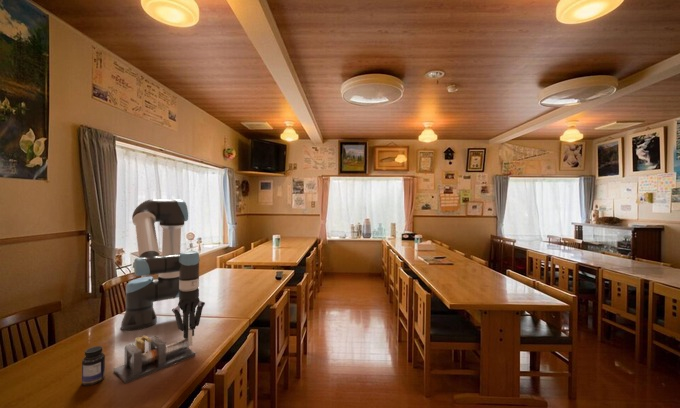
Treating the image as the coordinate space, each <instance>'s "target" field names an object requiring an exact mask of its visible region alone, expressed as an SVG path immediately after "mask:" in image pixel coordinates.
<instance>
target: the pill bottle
mask: <svg viewBox="0 0 680 408" xmlns="http://www.w3.org/2000/svg"><path fill="white" fill-rule="evenodd" d="M105 368H106V355H105V353H104V352H103V346H100V345H99V346H98V345H95V346H91V347H88V348H87V349H85V350H84V358H82V360H81V382H82V383H81V385H82V386H92V385H95V384H98V383H100V382H101V381H103V380H104V378H105V377H106V376H105V374H106V372H105V370H106V369H105Z"/></svg>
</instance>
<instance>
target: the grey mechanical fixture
mask: <svg viewBox="0 0 680 408" xmlns="http://www.w3.org/2000/svg"><path fill="white" fill-rule="evenodd" d="M149 338H150V339H151V342H148V351H150V350H153V349H156V361H154V362H150V363H147V364H145V365H142V351H141V350H140V349H139V348H137V347H136V346H135V343H134V344H133V343H130V344H125V345H124V363H123V364H122V365H120V366H117V367H115V368H113V371H114V373H115V374H116V375H117V377H119V378H120V380H121V381H123V383H124V384H125V385H126V384H128V383H131V382H134V381H136V380H139V379H140V378H143V377H146V376H148V375H151V374H153V373H155V372H158V371H160V370H163V369H165V368H168V367H170V366H174V365H176V364H178V363H180V362H182V361H186V360H188V359H190V358H193V357H195V356H196V352H195V351H194V350H192V349H190V347H189V348H187V349H185V350H182V351H179V352H177V353H174V354H171V355H169V356H166V345H167V342H165V341H164V340H162V339H161V338H159V337H157V336H156V335H155V336H152V337H149ZM131 357H132V369H131V368H130V365H129V359H130V358H131ZM175 363H176V364H175Z"/></svg>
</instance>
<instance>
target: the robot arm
mask: <svg viewBox="0 0 680 408" xmlns="http://www.w3.org/2000/svg"><path fill="white" fill-rule="evenodd" d="M131 216H132V218H131V219H132V224H133V225H134V226H135V231H136V240H137V241H136V242H137V251H138V257H135V259H134V260H133V273H134V275H135V276H137V277H138V278H134V279H132V280H130V281H128V283H126V286H125V311H124V312H125V313H124V315H123V318H122V320H121V324H120V328H121V329H122V330H124V331H135V330H136V331H137V330H142V329H145V328H149V327H152V326H153V325H155V324H156V323H157V321H158V317H157V314H156V312H155V309H154V303H155V302H160V301H167V300H172V299H173V300H174V299H177V298H178V303H177V306H176V307H174V308H172V309H171V311H172V313H173V314H174V316H175V321H176V324H177V328H178V330H180V331H181V332H183V334H182V335H183V339H186V338H187V339H188V340H189V347H190V346H193V337H194V336H195V329H196V327H198V326H200V322H201V317H202V312H203V308H204V307H205V304H206V302H204V301H202V300H200V297H199V296H200V288H199V286H200V261H201V259H200V253H199V252H198V251H192V250H191V251H184V252H181V246H182V245H181V242H182V241H181V240H182V228H183V226H185V222H188V220H189V210H188V206H187V203H186V202H185V201H184V200H183V199H173V198H172V199H170V198H169V199H165V198H164V199H163V198H162V199H159V198H158V199H156V198H155V199H154V198H152V199H148V200H145V201H142V202H141V203H139V204H138V205H137V206H136V207H135V209H134V210H133V213H132V215H131ZM157 222H159V226H160V227H161V228H162V241H161V243H162V246H161V249H162V250H161V255H160V249H159V242H158V238H157V231H156V226H155V224H156V223H157ZM152 275H158V276H157V278H154V276H152ZM181 311H182V315H181Z"/></svg>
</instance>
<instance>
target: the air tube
mask: <svg viewBox="0 0 680 408" xmlns="http://www.w3.org/2000/svg"><path fill="white" fill-rule="evenodd" d="M187 348H189V349H190V346H189V340H188V339H187V338H186V339H185V338H183V339H180V340H178V341H174V342H172V343H169V344H166V356H169V355H171V354H174V353H177V352H179V351H182V350H185V349H187ZM154 361H156V349H153V350H150V351H149V350H148V351H147V352H146V351H145V353H143V354H142V365H145V364H147V363H150V362H154ZM129 365H130V368H131V369H132V357H131V358H130V359H129Z"/></svg>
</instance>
